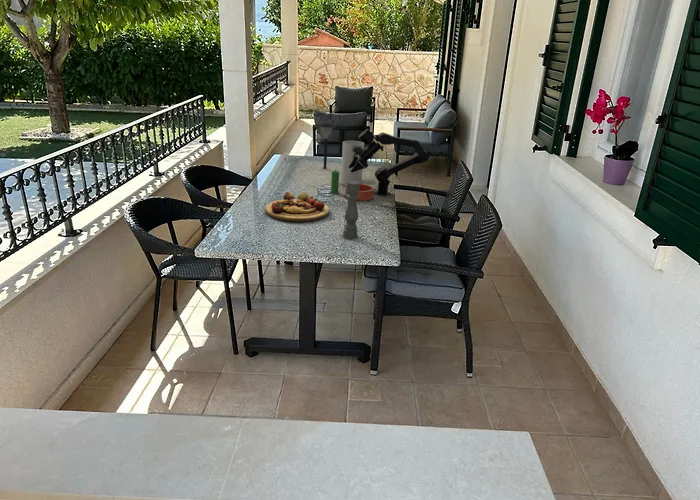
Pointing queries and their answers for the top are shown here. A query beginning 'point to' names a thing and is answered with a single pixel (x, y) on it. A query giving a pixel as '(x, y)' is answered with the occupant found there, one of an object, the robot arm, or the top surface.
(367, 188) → the pot
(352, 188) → the candle holder
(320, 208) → the wooden plate
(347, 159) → the cylinder vase
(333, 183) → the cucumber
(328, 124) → the solar garden light
